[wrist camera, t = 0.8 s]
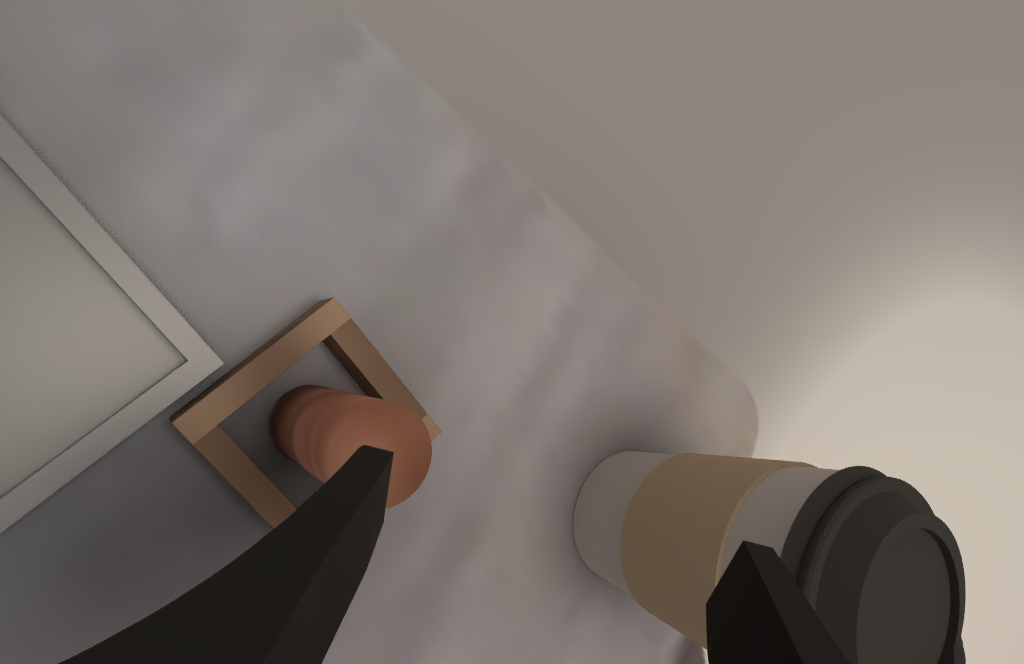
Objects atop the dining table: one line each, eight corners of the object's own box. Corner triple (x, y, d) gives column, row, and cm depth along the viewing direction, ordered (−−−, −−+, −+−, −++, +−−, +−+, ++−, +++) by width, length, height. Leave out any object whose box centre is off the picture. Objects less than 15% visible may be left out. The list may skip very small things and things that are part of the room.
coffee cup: (526, 499, 31) (809, 609, 18) (647, 396, 35) (949, 424, 22) (603, 639, 33) (906, 830, 20) (708, 527, 37) (1016, 624, 24)
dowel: (302, 475, 25) (374, 531, 18) (252, 420, 24) (304, 453, 17) (359, 424, 26) (450, 455, 19) (313, 370, 26) (389, 378, 18)
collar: (295, 548, 25) (306, 562, 23) (169, 417, 23) (171, 423, 21) (423, 426, 28) (441, 431, 26) (321, 300, 26) (334, 297, 24)
